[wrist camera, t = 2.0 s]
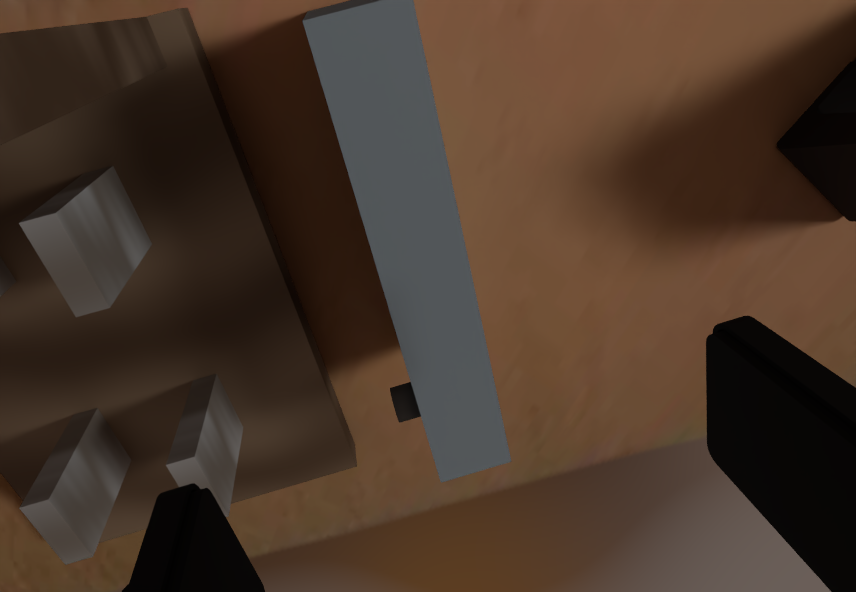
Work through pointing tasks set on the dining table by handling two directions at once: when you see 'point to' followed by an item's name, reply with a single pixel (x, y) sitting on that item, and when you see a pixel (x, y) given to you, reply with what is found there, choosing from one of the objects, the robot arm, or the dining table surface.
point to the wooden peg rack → (142, 291)
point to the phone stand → (828, 142)
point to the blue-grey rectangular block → (411, 224)
